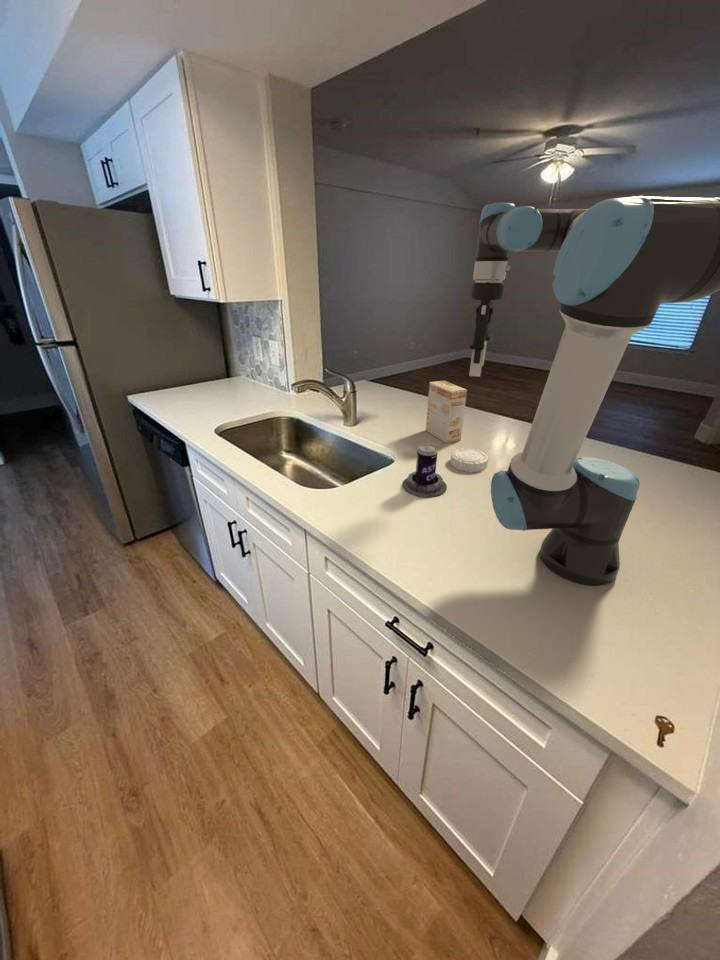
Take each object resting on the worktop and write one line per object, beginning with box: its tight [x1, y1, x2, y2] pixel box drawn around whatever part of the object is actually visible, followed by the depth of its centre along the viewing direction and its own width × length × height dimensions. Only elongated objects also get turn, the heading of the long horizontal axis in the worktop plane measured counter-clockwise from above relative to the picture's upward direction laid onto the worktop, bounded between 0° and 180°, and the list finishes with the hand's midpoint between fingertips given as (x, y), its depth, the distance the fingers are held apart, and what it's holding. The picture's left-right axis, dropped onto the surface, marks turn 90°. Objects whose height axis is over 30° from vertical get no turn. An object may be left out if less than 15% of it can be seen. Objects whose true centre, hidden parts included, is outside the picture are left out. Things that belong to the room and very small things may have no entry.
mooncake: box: [449, 448, 489, 473], centre depth 128 cm, size 12×12×4 cm
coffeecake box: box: [425, 380, 468, 444], centre depth 147 cm, size 15×7×20 cm, turn 22°
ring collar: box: [402, 471, 448, 498], centre depth 115 cm, size 13×13×3 cm
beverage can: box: [415, 444, 438, 485], centre depth 112 cm, size 6×6×12 cm
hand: (476, 370), depth 104 cm, fingers open, 13 cm apart
